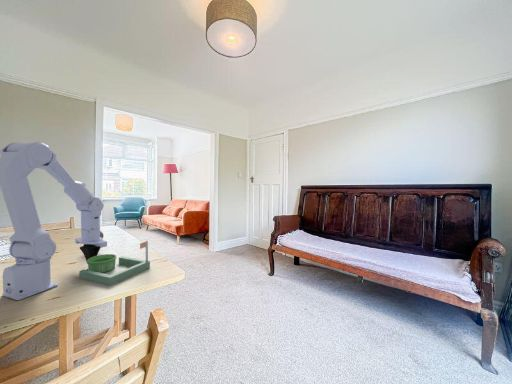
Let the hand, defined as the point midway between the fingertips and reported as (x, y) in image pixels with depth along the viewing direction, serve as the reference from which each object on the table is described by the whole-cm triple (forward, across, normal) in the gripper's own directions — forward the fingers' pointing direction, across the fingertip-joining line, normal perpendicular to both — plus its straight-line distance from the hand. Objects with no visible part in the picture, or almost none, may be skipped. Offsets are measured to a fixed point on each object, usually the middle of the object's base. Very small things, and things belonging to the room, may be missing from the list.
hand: (91, 263), depth 84 cm
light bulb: (+2, +18, -14) cm, 23 cm away
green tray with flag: (+1, -13, 0) cm, 13 cm away
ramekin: (+2, -6, 0) cm, 6 cm away
